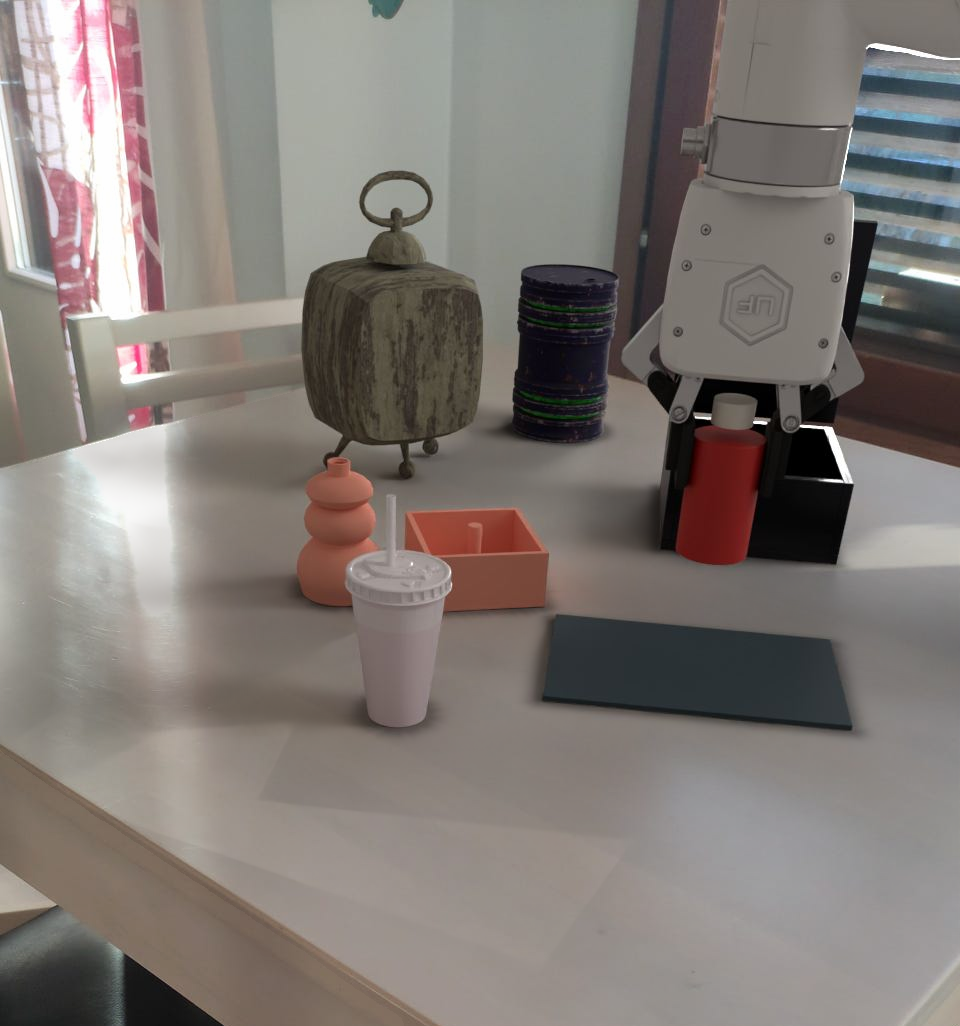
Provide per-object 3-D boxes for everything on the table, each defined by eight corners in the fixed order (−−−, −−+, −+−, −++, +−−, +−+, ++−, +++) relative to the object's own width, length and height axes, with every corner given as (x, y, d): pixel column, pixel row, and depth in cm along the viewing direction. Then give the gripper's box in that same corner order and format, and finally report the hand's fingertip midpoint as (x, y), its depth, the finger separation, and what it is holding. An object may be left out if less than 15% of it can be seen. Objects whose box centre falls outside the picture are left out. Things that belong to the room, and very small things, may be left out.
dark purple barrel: (490, 423, 132) (498, 269, 123) (556, 409, 138) (568, 260, 129) (558, 448, 126) (572, 288, 118) (624, 432, 132) (641, 278, 123)
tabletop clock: (437, 447, 124) (445, 162, 110) (487, 475, 118) (502, 176, 104) (305, 467, 118) (295, 165, 103) (350, 498, 112) (346, 182, 97)
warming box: (836, 564, 104) (854, 484, 100) (659, 549, 105) (670, 468, 101) (817, 501, 117) (832, 427, 113) (659, 487, 118) (669, 414, 114)
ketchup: (744, 542, 84) (771, 391, 78) (748, 568, 80) (776, 412, 74) (675, 536, 84) (696, 385, 78) (675, 562, 80) (698, 406, 75)
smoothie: (378, 680, 84) (378, 471, 75) (464, 704, 81) (474, 492, 73) (327, 721, 79) (321, 502, 71) (417, 748, 77) (422, 525, 69)
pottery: (514, 558, 102) (522, 435, 96) (544, 606, 95) (555, 477, 89) (291, 567, 98) (286, 440, 93) (304, 618, 91) (299, 484, 85)
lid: (878, 223, 102) (876, 220, 102) (697, 210, 103) (697, 208, 103) (833, 423, 112) (833, 420, 113) (670, 410, 113) (670, 407, 114)
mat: (829, 644, 92) (830, 639, 91) (851, 731, 81) (852, 725, 81) (555, 618, 93) (555, 613, 93) (542, 701, 82) (542, 695, 82)
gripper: (619, 155, 66) (585, 494, 77) (944, 178, 65) (865, 519, 76) (622, 140, 73) (590, 456, 83) (920, 161, 71) (849, 478, 82)
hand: (722, 483), depth 79 cm, fingers closed on ketchup, 4 cm apart
